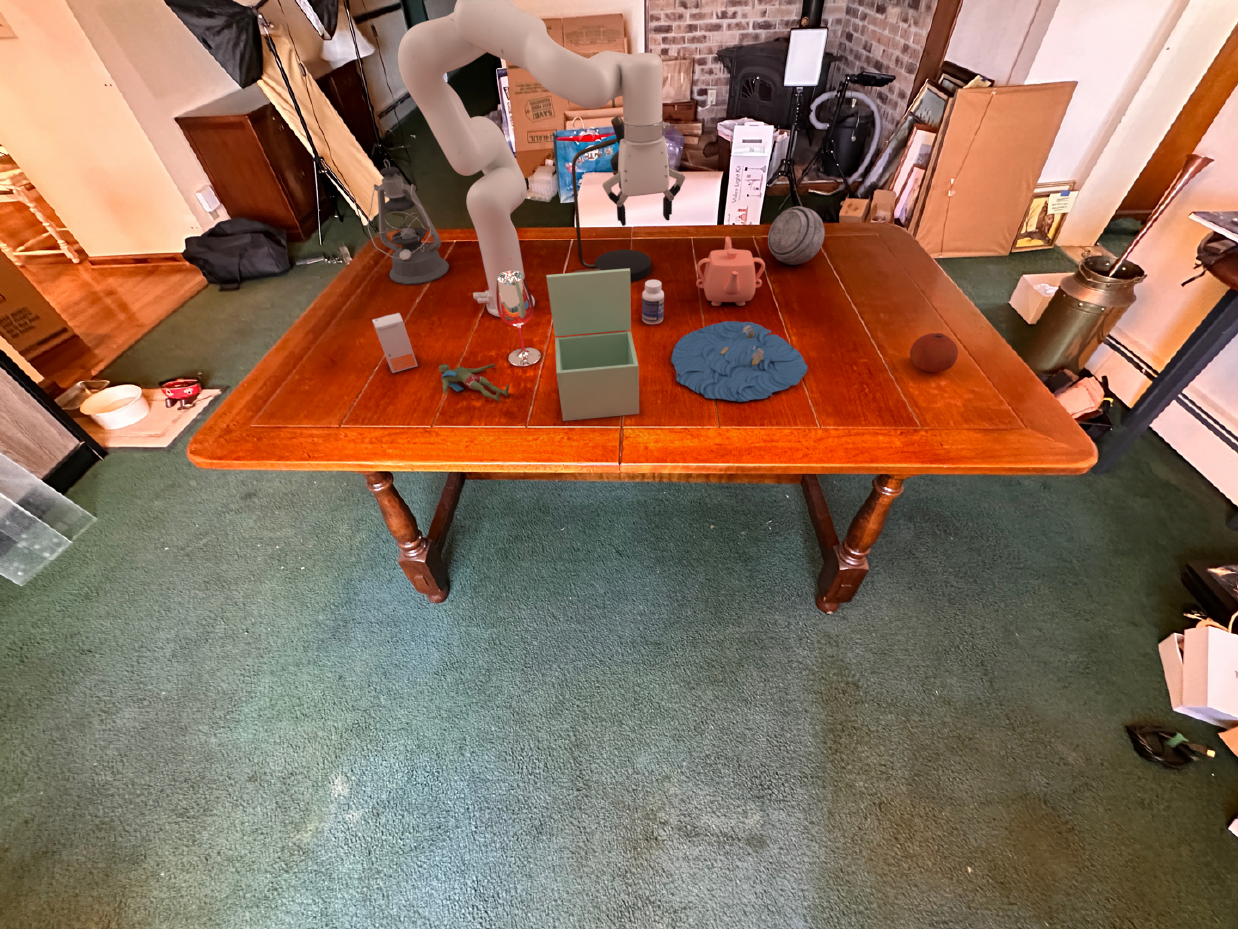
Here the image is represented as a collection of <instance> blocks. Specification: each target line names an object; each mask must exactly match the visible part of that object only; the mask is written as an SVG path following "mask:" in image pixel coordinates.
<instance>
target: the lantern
mask: <svg viewBox="0 0 1238 929" xmlns="http://www.w3.org/2000/svg"><path fill="white" fill-rule="evenodd" d="M385 161H386V162H387V163H388V165H387V164H386V162H385ZM385 161H383V163H384V166H385V167H384V168H382V169H381V170H380V172H379V175H381V176H384V177H383V178H382V179H381V184H379V185H377V184H376V183H374V184H373V190H372V195H371V203H370V209H369V213H368V217H367V231H368V234H369V237H370V239H371V241H372V243H373V244H372V245H373V246H374V247H375V248H376V250H378V251H380V252H382V253H383V254H385V255H387V256H388V257H391V264H392V268H391V269H390V271H389V273H388V276H389V278H390V280H391V281H394V282H395V283H397V284H399V285H405V286H407V285H410V286H411V285H422V284H427V283H431V282H433V281H435V280H438V279H440V278H441V277H443V276H444V275H446V274H447V273H448V270H449V268H450V264H449V263H448V261H446V259H445V258H442V257H441V255H440V253H439V251H438V249H439V248H440V247H441V246H442V245H441V244H442V240H441V237H440V235H439V233H438V231H437V230H436V229H437V228H436V227H435V225H434V224H433V222H432V220H431V218H430V217H429V214H428V213H427V211H426V209H425V208H424V205H423V204H422V203H421V201H420V199H419V197H418V195H417V193H416V190H417V187H416V185H414V184H411V185H409V184H407V183H404V178H403V177H402V176H401V175H398V173H400V169H399V168H397V167H396V166H391V164H390V161H388V159H385ZM375 191H377V203H378V204H377V209H378V210H377V211H378V230H379V232H377V234H378V235H379V238H380V241H381V242H382V244H383V245H384V246H385V247H387V248H388V249H390V250H392V251H394V252H393V253H392V255H390V254H388V253H387V252H386V251H384V250H382V249H380V248H378V246H377V245H376V244H375V242H374V239H373V236H372V234H371V231H370V227H369V223H370V215H371V211H372V207H373V200H374V196H375ZM407 195H409V197H407ZM386 198H387V199H388V200H387V201H386ZM414 207H415V208H416V210H417V212H416V214H419V216H420V217H421V219H422V220H423V222H424V224H425V226H426V228H425V226H424V225H423V223H422V222H420V225H421V226H422V227H412V226H411V225H413V223H414V221H415V220H417V221H420V219H419V218H418V217H415V216H413V215H412V214H414V212H411V213H410V214H409V213H408V212H404V211H408V210H411V209H412V208H414ZM387 212H389V213H388V215H389V214H394V213H396V212H399V213H402V214H406V215H407V216H405V219H404V221H403V223H402V229H401V228H397V227H395V226H391V225H390V224H389V222H388V221H387ZM409 216H410V217H412V218H414V219H413V221H411V223H410V224H409V225H405V226H404V224H405V222H406V219H407V218H408V217H409ZM387 225H388V226H389V227H391V228H393V229H396V230H400V231H397V232H394V234H393V235H392V236H391V239H390V240H391V241H389V239H388V238H387V232H388V230H389V228H388V227H387ZM428 231H429V233H428ZM427 233H428V236H427V238H425V237H426V235H427ZM431 236H432V237H431ZM429 239H431V240H430V241H428V240H429ZM422 240H424V241H423V242H422ZM399 245H400V246H401V247H399Z"/></svg>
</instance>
